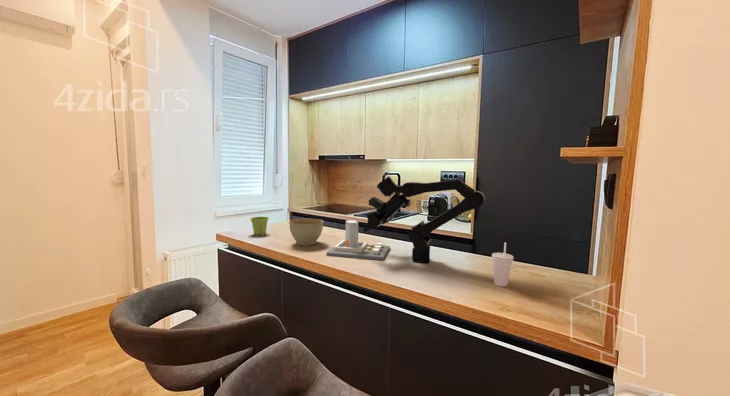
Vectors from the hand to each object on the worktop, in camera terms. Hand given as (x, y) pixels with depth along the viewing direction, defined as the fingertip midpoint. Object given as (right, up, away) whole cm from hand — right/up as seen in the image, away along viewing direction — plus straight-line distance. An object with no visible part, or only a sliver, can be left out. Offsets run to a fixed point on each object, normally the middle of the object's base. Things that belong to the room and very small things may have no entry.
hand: (368, 229), depth 128 cm
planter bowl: (-29, -9, +15) cm, 34 cm away
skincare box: (-7, -9, +4) cm, 12 cm away
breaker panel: (-4, -10, +2) cm, 11 cm away
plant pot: (-58, -6, +33) cm, 67 cm away
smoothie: (+43, -15, -32) cm, 55 cm away
